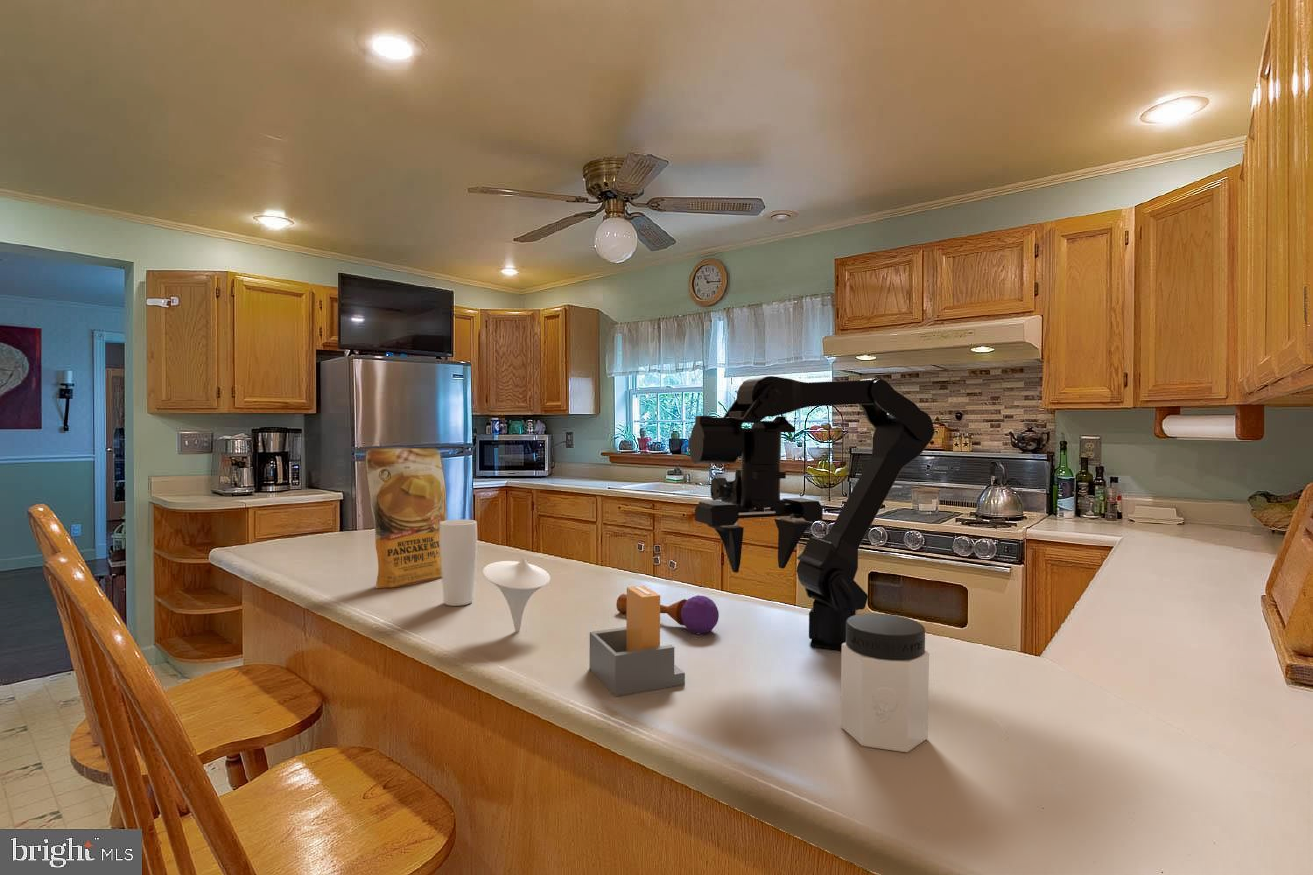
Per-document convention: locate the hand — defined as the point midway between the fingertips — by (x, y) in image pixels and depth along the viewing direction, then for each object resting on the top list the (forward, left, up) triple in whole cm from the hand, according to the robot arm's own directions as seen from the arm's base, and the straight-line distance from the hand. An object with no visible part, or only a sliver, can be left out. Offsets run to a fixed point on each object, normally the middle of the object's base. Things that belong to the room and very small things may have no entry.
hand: (758, 570), depth 97 cm
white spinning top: (+38, +5, -12) cm, 40 cm away
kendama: (+17, -8, -13) cm, 23 cm away
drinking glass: (+57, -5, -12) cm, 58 cm away
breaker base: (+13, +15, -12) cm, 24 cm away
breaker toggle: (+12, +14, -10) cm, 22 cm away
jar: (-18, +20, -12) cm, 30 cm away
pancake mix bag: (+77, -15, -12) cm, 79 cm away
